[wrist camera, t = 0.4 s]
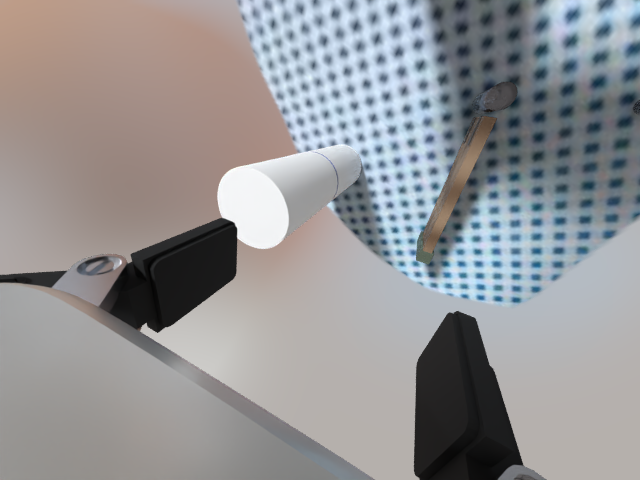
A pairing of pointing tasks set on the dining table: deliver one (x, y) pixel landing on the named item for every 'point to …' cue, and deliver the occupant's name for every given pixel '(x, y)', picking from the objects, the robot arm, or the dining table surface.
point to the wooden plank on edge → (454, 185)
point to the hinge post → (495, 98)
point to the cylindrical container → (284, 192)
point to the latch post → (637, 108)
